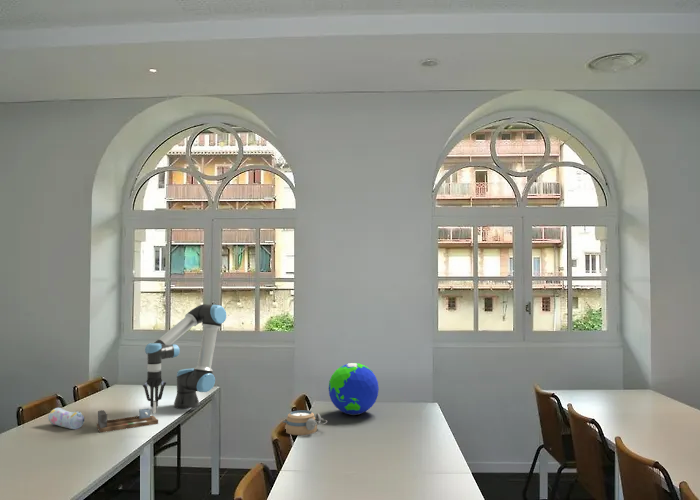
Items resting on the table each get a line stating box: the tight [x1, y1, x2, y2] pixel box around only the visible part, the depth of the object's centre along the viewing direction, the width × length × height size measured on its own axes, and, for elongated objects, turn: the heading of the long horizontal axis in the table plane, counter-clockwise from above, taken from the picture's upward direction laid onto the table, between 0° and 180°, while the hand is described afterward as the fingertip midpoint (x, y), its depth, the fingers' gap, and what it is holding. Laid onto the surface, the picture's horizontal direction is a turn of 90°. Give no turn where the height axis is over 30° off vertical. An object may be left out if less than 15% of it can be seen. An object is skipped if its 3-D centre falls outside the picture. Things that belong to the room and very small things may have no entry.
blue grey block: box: [138, 408, 151, 419], centre depth 315 cm, size 5×9×5 cm, turn 32°
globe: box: [328, 362, 379, 416], centre depth 332 cm, size 30×30×30 cm
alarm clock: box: [282, 409, 328, 436], centre depth 299 cm, size 17×9×23 cm
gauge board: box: [96, 409, 159, 433], centre depth 312 cm, size 30×12×9 cm, turn 122°
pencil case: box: [48, 407, 85, 430], centre depth 311 cm, size 21×9×10 cm, turn 62°
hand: (154, 412), depth 320 cm, fingers closed
